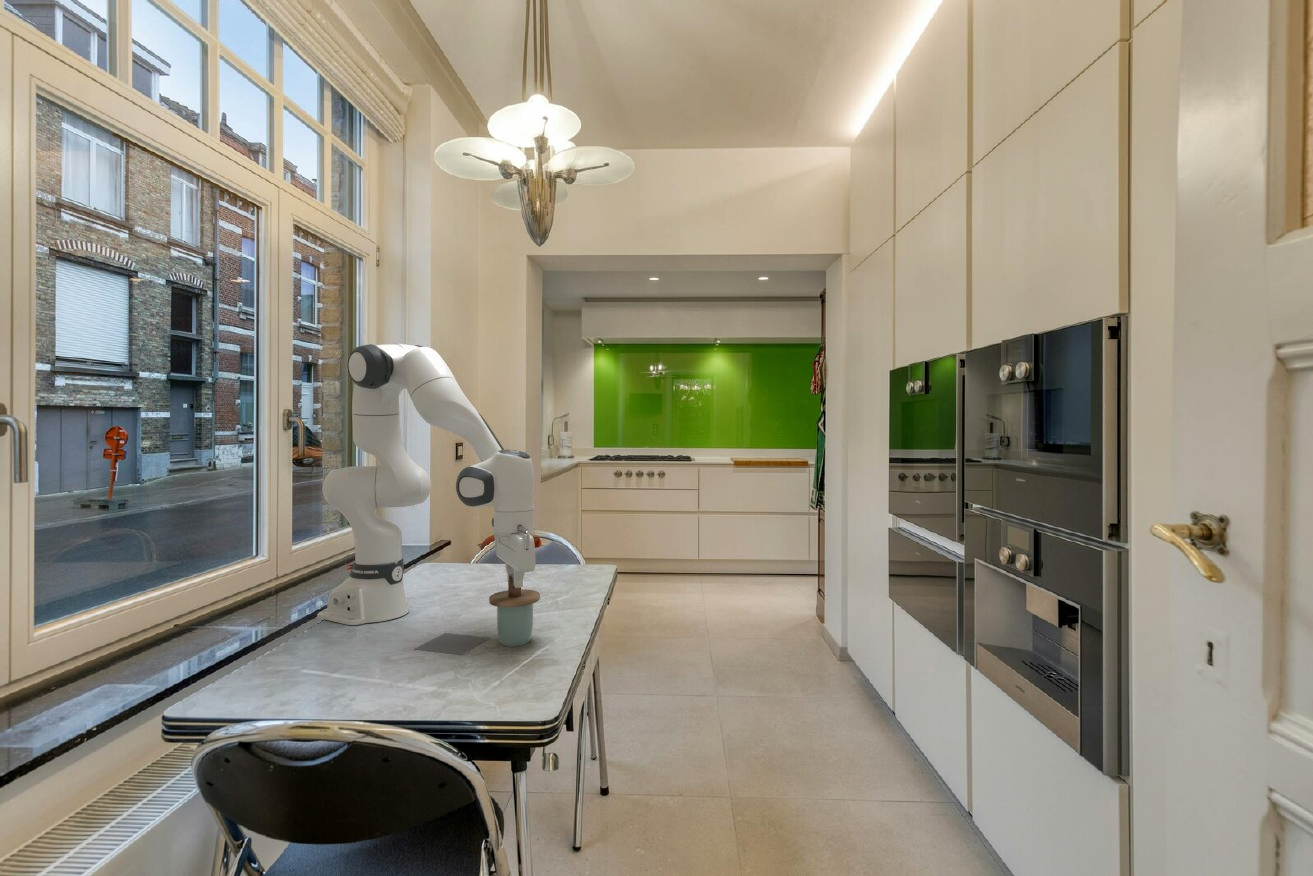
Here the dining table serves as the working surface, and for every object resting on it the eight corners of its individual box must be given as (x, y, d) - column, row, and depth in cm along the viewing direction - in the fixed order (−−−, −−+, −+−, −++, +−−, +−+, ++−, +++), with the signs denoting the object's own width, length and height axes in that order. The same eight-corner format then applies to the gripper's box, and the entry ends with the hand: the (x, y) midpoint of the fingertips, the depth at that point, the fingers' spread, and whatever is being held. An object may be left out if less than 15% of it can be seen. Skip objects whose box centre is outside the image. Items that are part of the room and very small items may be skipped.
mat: (413, 652, 127) (413, 649, 127) (445, 635, 138) (445, 632, 138) (461, 657, 124) (461, 654, 124) (490, 640, 134) (490, 637, 134)
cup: (537, 639, 135) (537, 595, 135) (526, 651, 127) (526, 605, 127) (504, 638, 136) (504, 595, 136) (491, 650, 128) (491, 604, 128)
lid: (478, 604, 129) (478, 583, 129) (510, 592, 139) (510, 572, 139) (519, 609, 124) (519, 588, 124) (549, 596, 134) (549, 576, 134)
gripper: (542, 527, 124) (543, 593, 124) (516, 516, 142) (516, 573, 142) (512, 530, 121) (513, 597, 121) (489, 518, 139) (490, 577, 139)
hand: (514, 584), depth 131 cm, fingers open, 3 cm apart
